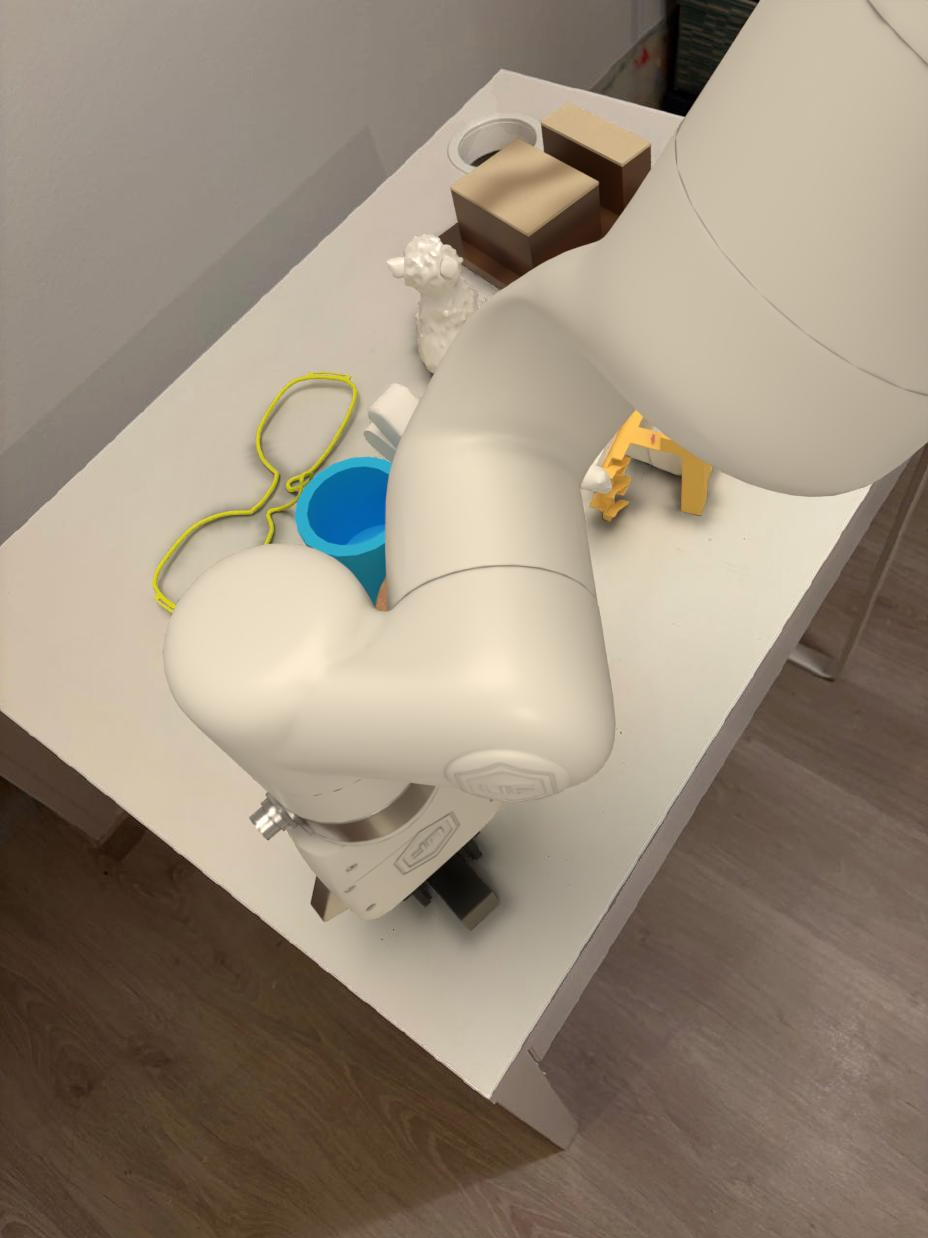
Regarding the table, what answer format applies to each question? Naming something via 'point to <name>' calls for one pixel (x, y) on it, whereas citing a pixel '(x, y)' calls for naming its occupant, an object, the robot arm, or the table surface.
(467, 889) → the tall black pillar
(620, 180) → the wooden step piece
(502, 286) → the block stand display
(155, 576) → the glasses
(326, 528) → the mug
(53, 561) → the table surface
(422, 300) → the white creature statuette
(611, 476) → the figure
